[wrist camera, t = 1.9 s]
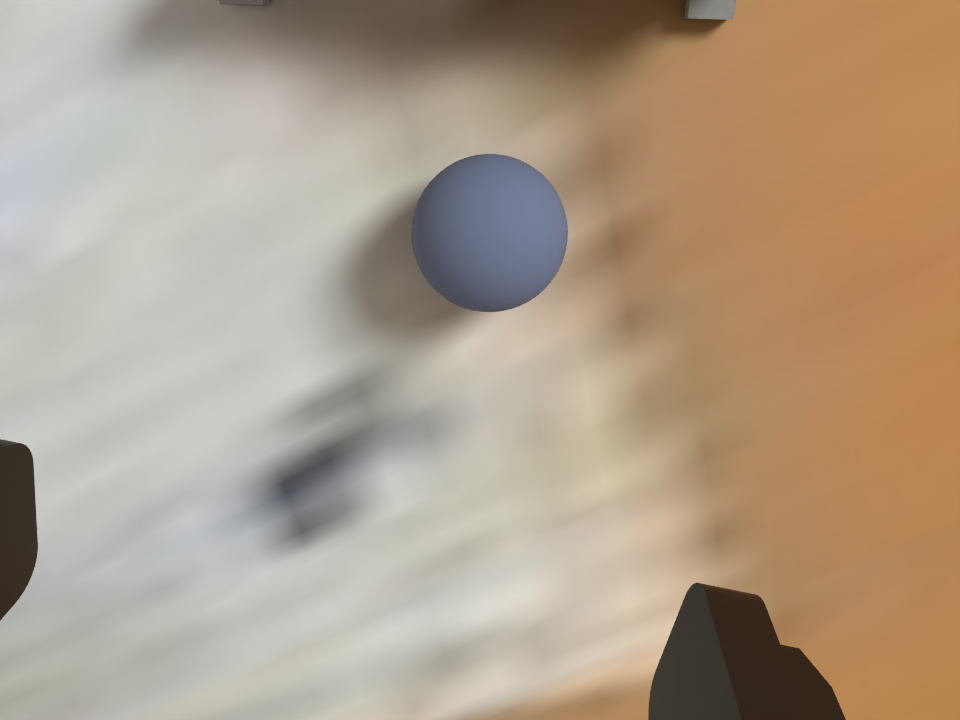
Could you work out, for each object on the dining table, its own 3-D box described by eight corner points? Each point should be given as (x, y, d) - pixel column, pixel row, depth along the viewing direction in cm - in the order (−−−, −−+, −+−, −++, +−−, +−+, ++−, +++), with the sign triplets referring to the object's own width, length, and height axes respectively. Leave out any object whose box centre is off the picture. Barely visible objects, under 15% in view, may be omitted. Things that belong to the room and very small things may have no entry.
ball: (581, 160, 23) (589, 191, 19) (546, 296, 25) (547, 350, 21) (436, 128, 23) (415, 153, 19) (412, 267, 25) (388, 316, 21)
